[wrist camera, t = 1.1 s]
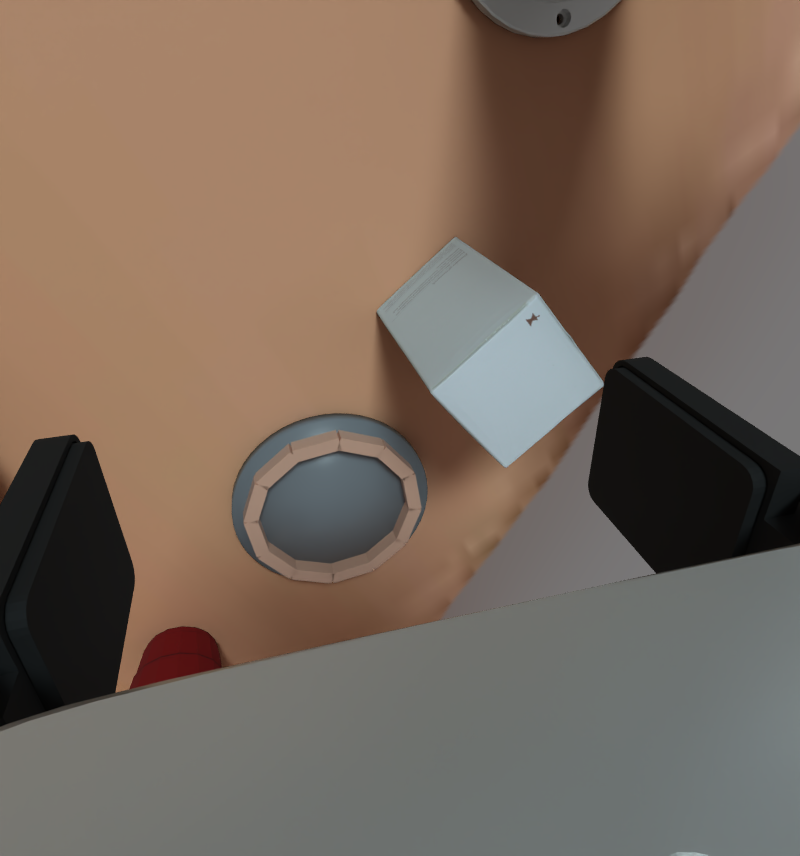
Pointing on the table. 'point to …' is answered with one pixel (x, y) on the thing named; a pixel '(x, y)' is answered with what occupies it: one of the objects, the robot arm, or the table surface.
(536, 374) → the supplement box
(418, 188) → the table surface
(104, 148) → the table surface
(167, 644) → the plastic cup
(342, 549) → the ring tray
